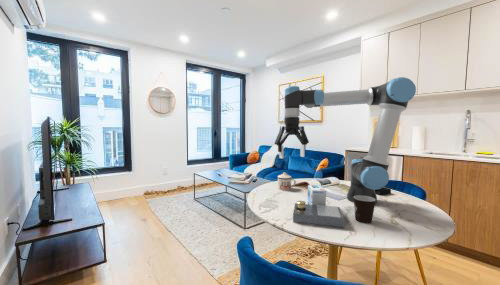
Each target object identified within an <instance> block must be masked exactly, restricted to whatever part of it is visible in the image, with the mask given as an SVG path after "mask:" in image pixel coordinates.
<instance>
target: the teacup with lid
mask: <svg viewBox="0 0 500 285" xmlns="http://www.w3.org/2000/svg"><path fill="white" fill-rule="evenodd" d="M292 181H293V184H292ZM296 183H297V181H296V179H294V178H292V176H291V175H289V174H288V173H287V172H283V173H281V174H278V175H277V189H278V190H279V191H291V190H292V187H295V185H296Z"/></svg>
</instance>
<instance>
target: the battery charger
mask: <svg viewBox="0 0 500 285" xmlns="http://www.w3.org/2000/svg"><path fill="white" fill-rule="evenodd" d="M375 193H376V196H377V195H378V196H386V195H391V193H392V189H391V188H388V187H386V186H384V187H383V188H381V189H377V190H375Z"/></svg>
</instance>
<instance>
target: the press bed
mask: <svg viewBox="0 0 500 285" xmlns="http://www.w3.org/2000/svg"><path fill="white" fill-rule="evenodd" d="M292 213H293V215H292V222H293V223H295V224H303V225H312V226H319V227H328V228H338V229H345V228H344V226H345V225H344V224H345V218H344V216H343V213H342V210H341V208H340V207H339V206H333V205H326V206H324V205H309V204H306V203H305V207H304V210H298V204H297V202H296V203H294V208H293V212H292Z"/></svg>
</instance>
